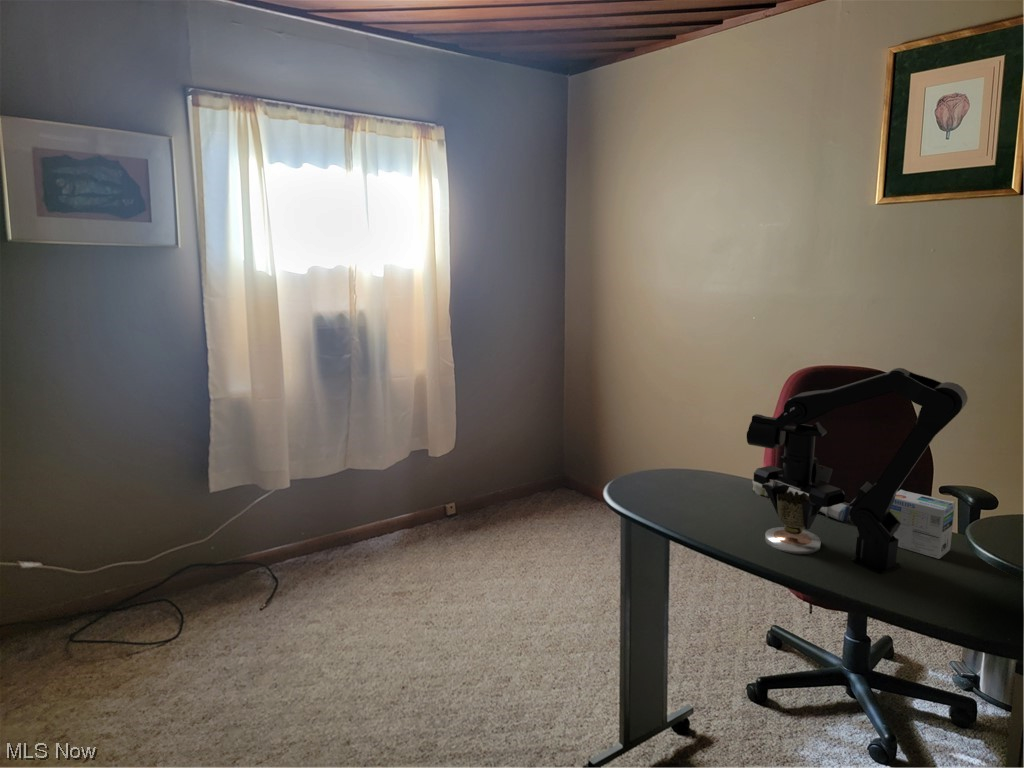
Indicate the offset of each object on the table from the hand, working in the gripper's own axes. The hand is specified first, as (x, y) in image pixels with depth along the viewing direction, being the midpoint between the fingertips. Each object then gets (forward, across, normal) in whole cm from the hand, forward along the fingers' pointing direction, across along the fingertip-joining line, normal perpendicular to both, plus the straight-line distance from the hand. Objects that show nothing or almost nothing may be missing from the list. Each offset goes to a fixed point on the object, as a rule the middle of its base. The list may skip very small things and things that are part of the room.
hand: (794, 523), depth 142 cm
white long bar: (+5, +15, -19) cm, 25 cm away
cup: (+2, 0, 0) cm, 2 cm away
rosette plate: (+4, 0, 0) cm, 4 cm away
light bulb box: (+5, -14, -21) cm, 26 cm away
